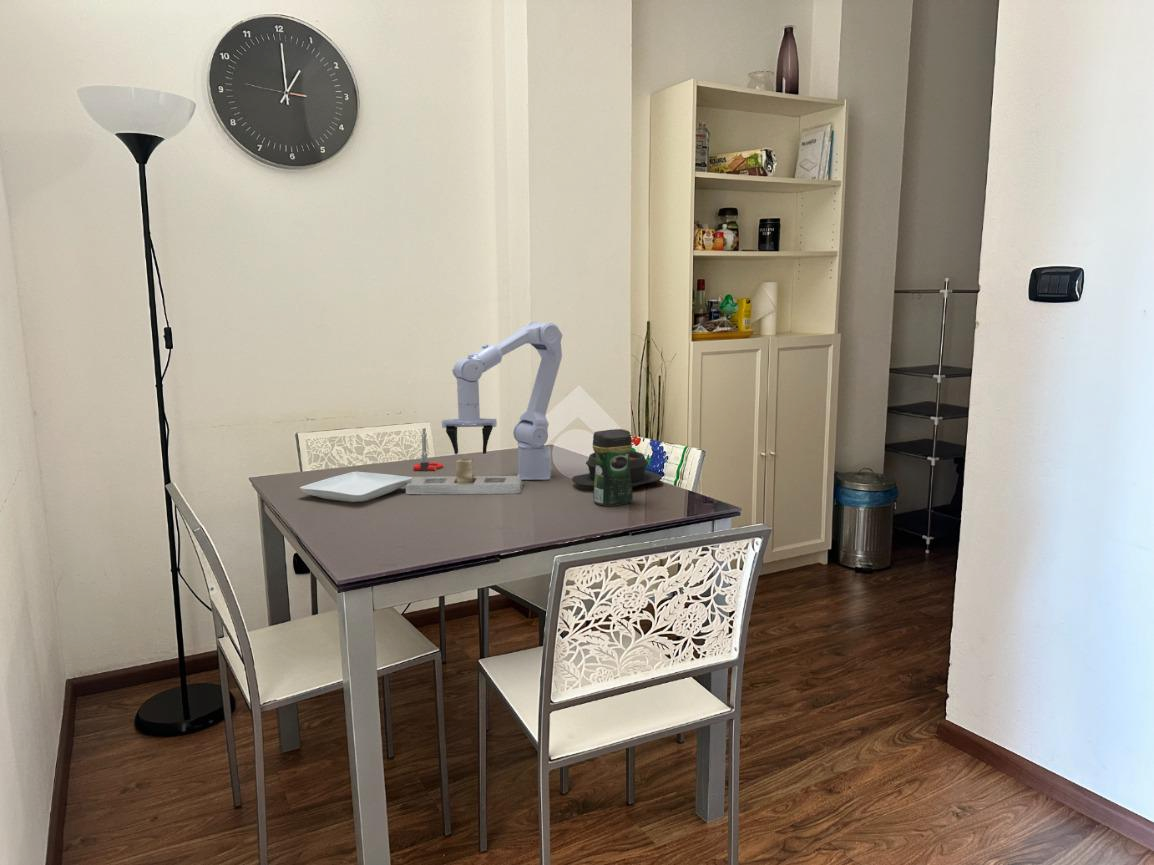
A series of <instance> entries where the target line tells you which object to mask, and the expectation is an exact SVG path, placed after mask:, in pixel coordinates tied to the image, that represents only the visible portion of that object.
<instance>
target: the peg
mask: <svg viewBox="0 0 1154 865" xmlns="http://www.w3.org/2000/svg"><path fill="white" fill-rule="evenodd" d="M455 466H456V467H455V468H456V469H455V470H456V471H455V472H456V473H455V474H456V476H457V483H474V476H475V475H474V458H458V459H457V460H456V461H455Z"/></svg>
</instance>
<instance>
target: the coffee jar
mask: <svg viewBox="0 0 1154 865" xmlns="http://www.w3.org/2000/svg"><path fill="white" fill-rule="evenodd" d="M592 439H593V440H592V450H593V453H595V458H596V466H595V480H594V486H593V492H592V494H593V498H592V499H593V501H594V503H595V504H597V505H598V506H601V505H602V506H605V507H612V506H613V505H615V506H621V505H620V504H622V505H626V504H630V503H632V501H633V500H634V499H633V498H634V495H633V488H632V484H631V475H630V462H629V459H630V451H632V447H633V443H632V435H631V432H630V431H629V430H626V429H623V428H616V429H615V428H614V429H605V430H597V431H594V432H593V436H592Z"/></svg>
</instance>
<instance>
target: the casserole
mask: <svg viewBox="0 0 1154 865" xmlns="http://www.w3.org/2000/svg"><path fill="white" fill-rule="evenodd" d="M587 459H588V460H587V461H585V464H586V466H587V468H588V472H589V473H583V474H579V475H574V476H572V478H571V481H572V482H573V483H575V484H577V485H579V486H584V487H594V480H595V466H596V458H595V452H592V453H591V454H590V455H589V457H588V458H587ZM629 462H630V475H631V484H632V489H633V488H636V487H638V486H640V485H644V484H648V483H655V482H658V481H659V482H660V481H661V480H662V478H663V477H662V475H661V474H659V473H657V472H654V471H649V470H646V467H647V466H648V465H649V462H648V461H647V460H646V457H645V454H643V453H641V452H638V451H635V450H634V451H633V450H631V451H630V459H629Z"/></svg>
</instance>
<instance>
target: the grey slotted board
mask: <svg viewBox="0 0 1154 865" xmlns="http://www.w3.org/2000/svg"><path fill="white" fill-rule="evenodd" d="M522 488H523V480H522V476H517V475H483V476H482V475H476V476H475V475H474V483H457V475H456V476H453V475H452V476H412V480H411V481H410V482H408V483H407V484H406V485H405V495H406V494H421V495H500V494H501V495H506V494H507V495H510V494H512V495H513V494H514V495H517V494H521V491H522Z"/></svg>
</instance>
